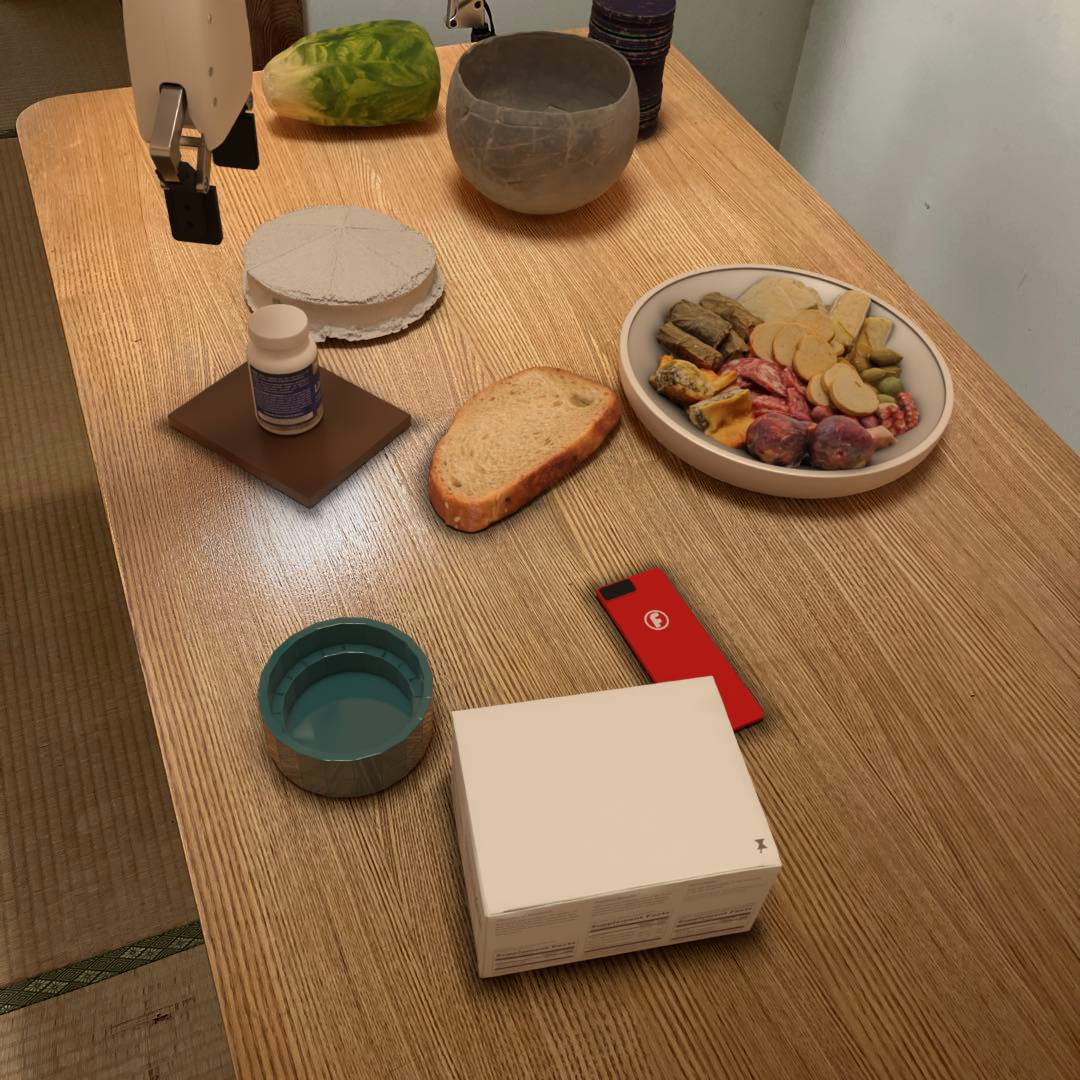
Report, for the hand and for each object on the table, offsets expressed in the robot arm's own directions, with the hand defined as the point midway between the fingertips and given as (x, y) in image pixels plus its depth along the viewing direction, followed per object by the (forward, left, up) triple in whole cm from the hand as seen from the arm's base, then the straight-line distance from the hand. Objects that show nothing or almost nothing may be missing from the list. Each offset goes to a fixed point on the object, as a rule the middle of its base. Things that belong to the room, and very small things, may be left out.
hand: (218, 202), depth 73 cm
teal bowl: (+24, -16, -24) cm, 37 cm away
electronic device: (+39, +3, -24) cm, 45 cm away
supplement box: (+42, -14, -24) cm, 50 cm away
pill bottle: (0, +4, -23) cm, 23 cm away
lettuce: (-31, +48, -24) cm, 62 cm away
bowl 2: (+32, +34, -24) cm, 52 cm away
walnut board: (0, +4, -24) cm, 24 cm away
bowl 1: (-5, +49, -24) cm, 55 cm away
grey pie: (-10, +22, -24) cm, 34 cm away
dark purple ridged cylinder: (-7, +70, -24) cm, 74 cm away
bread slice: (+18, +14, -24) cm, 33 cm away
